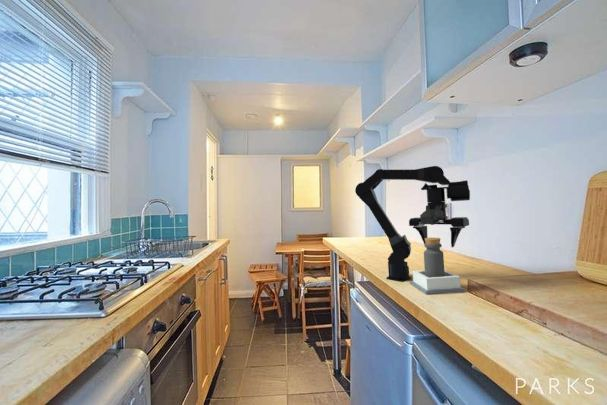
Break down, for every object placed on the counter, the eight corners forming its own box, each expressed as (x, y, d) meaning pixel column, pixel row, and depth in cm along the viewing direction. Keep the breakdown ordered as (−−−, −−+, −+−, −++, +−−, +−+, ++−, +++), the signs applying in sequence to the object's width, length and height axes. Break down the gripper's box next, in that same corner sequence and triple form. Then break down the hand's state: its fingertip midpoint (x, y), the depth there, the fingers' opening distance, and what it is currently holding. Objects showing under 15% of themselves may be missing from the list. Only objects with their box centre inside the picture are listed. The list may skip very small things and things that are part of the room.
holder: (410, 283, 99) (409, 270, 99) (444, 281, 99) (443, 268, 99) (426, 294, 87) (425, 279, 87) (464, 291, 87) (463, 277, 87)
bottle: (427, 286, 91) (424, 239, 91) (424, 281, 97) (421, 237, 97) (447, 287, 90) (444, 239, 90) (442, 281, 95) (440, 237, 96)
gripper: (400, 204, 102) (402, 247, 102) (455, 201, 89) (458, 252, 88) (415, 203, 110) (417, 243, 110) (468, 200, 96) (471, 247, 96)
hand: (438, 246), depth 101 cm, fingers open, 9 cm apart
